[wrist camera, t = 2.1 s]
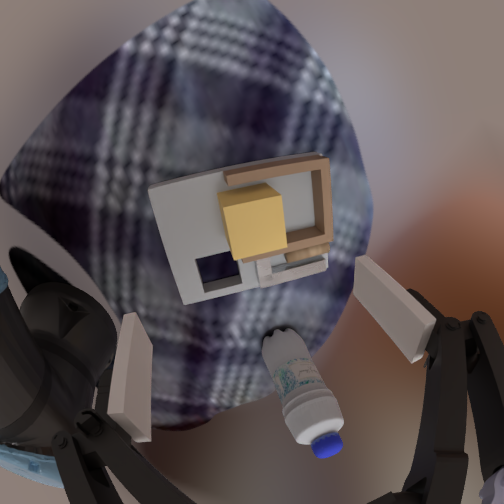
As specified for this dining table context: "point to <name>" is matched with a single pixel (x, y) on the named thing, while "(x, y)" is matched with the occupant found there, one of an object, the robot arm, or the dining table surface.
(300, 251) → the dowel
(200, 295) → the cubby deck
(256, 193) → the block
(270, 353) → the bottle
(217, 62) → the dining table surface
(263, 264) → the crook tool
